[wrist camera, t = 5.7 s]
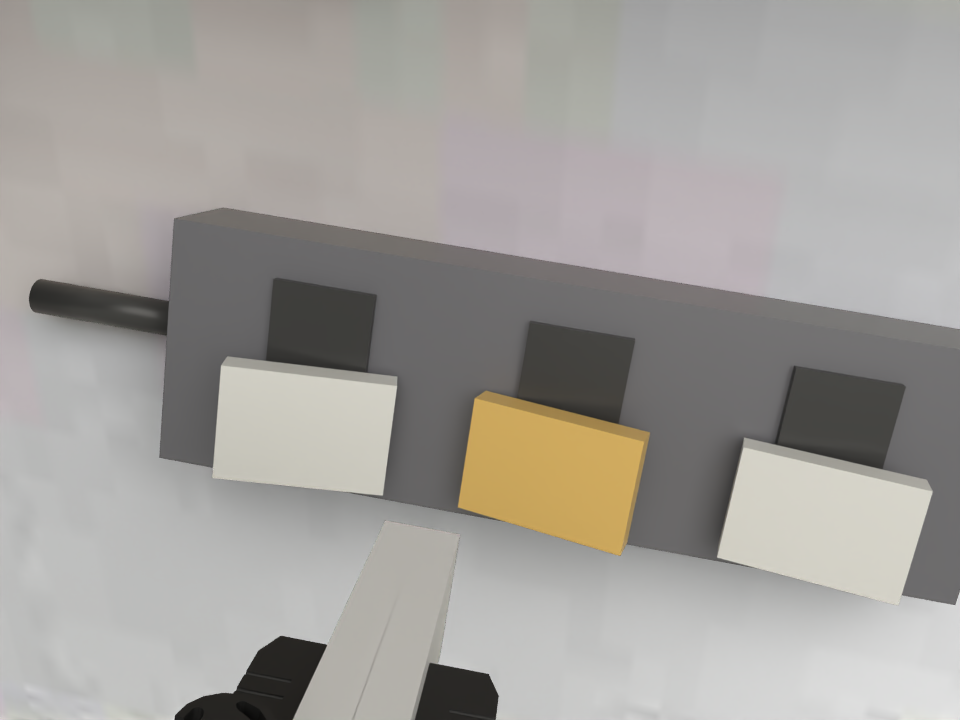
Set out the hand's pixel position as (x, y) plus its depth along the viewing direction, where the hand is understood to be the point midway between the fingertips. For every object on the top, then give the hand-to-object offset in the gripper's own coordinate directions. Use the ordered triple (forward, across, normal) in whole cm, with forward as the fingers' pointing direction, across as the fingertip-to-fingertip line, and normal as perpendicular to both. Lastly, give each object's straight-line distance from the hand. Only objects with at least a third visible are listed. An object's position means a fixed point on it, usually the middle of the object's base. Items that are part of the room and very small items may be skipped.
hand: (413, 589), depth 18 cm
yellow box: (+11, +3, -1) cm, 11 cm away
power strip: (+15, 0, +1) cm, 15 cm away
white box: (+11, -5, -1) cm, 12 cm away
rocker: (+11, +11, -1) cm, 15 cm away
